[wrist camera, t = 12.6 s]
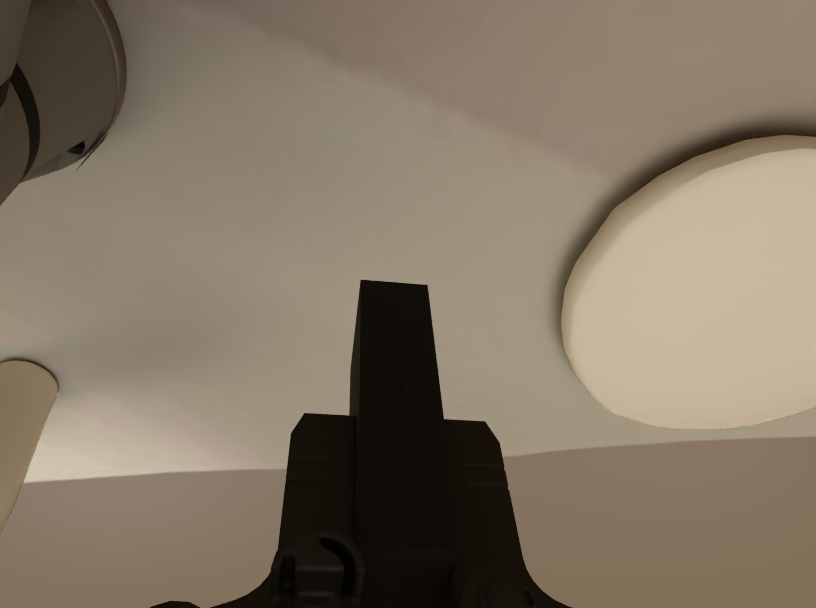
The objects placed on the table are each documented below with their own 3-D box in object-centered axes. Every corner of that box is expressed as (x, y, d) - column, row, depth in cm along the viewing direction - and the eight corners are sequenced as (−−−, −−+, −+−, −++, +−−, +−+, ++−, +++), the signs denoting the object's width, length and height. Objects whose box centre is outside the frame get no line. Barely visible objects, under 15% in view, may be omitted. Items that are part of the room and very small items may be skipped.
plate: (572, 461, 58) (554, 197, 42) (563, 405, 63) (544, 150, 47) (928, 434, 53) (1063, 125, 37) (887, 376, 58) (990, 82, 42)
